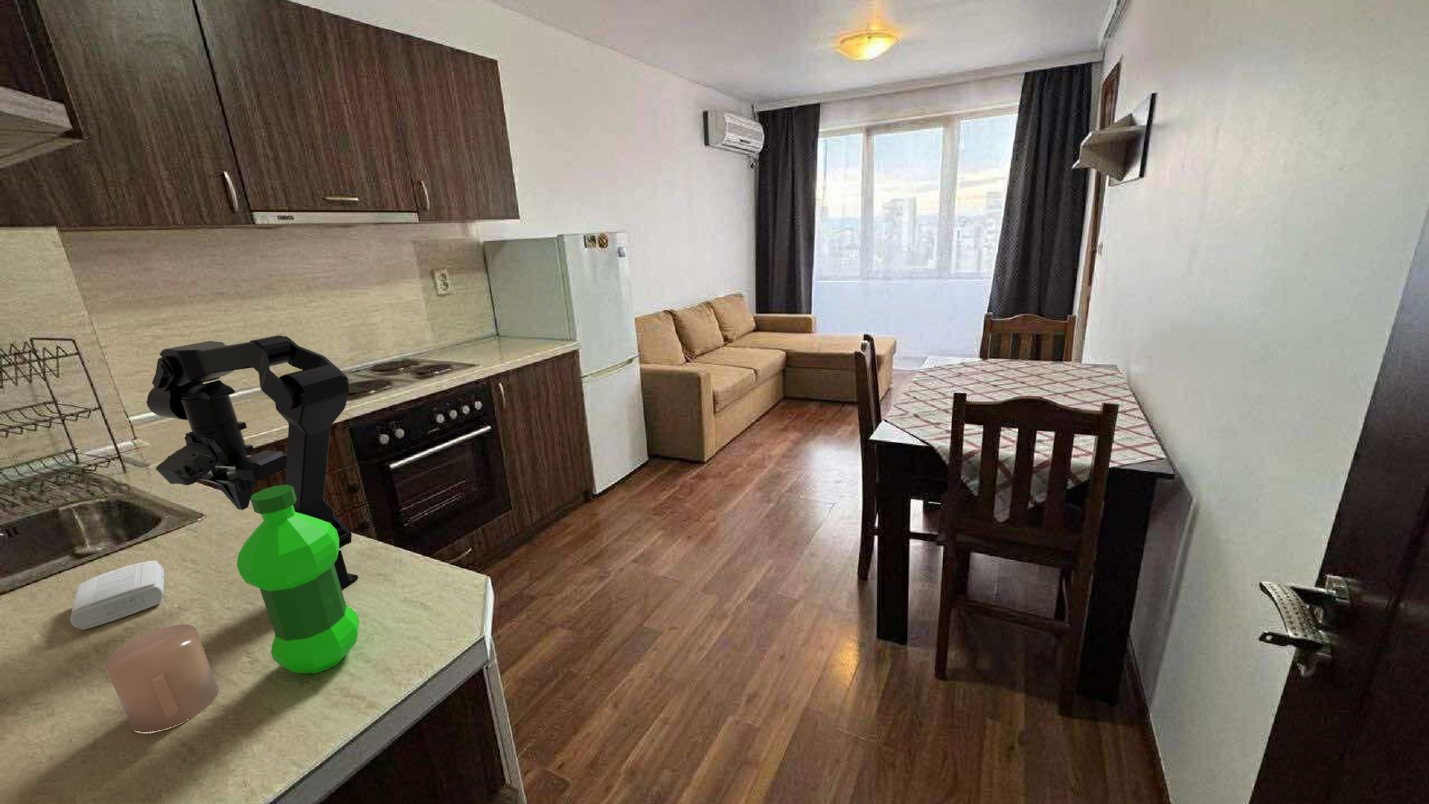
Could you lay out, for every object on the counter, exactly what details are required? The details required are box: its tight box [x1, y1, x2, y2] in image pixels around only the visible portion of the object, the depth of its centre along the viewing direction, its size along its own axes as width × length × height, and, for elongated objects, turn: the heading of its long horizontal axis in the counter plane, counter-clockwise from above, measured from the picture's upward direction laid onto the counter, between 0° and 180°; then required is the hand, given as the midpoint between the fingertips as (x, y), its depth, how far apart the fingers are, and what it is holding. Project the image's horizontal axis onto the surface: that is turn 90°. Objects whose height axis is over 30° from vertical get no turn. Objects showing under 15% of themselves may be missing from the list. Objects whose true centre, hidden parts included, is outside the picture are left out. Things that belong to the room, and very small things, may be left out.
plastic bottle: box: [236, 484, 360, 675], centre depth 74 cm, size 10×10×25 cm
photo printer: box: [69, 560, 165, 631], centre depth 92 cm, size 10×4×12 cm
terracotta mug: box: [104, 623, 219, 732], centre depth 69 cm, size 9×8×9 cm
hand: (243, 508), depth 96 cm, fingers closed
